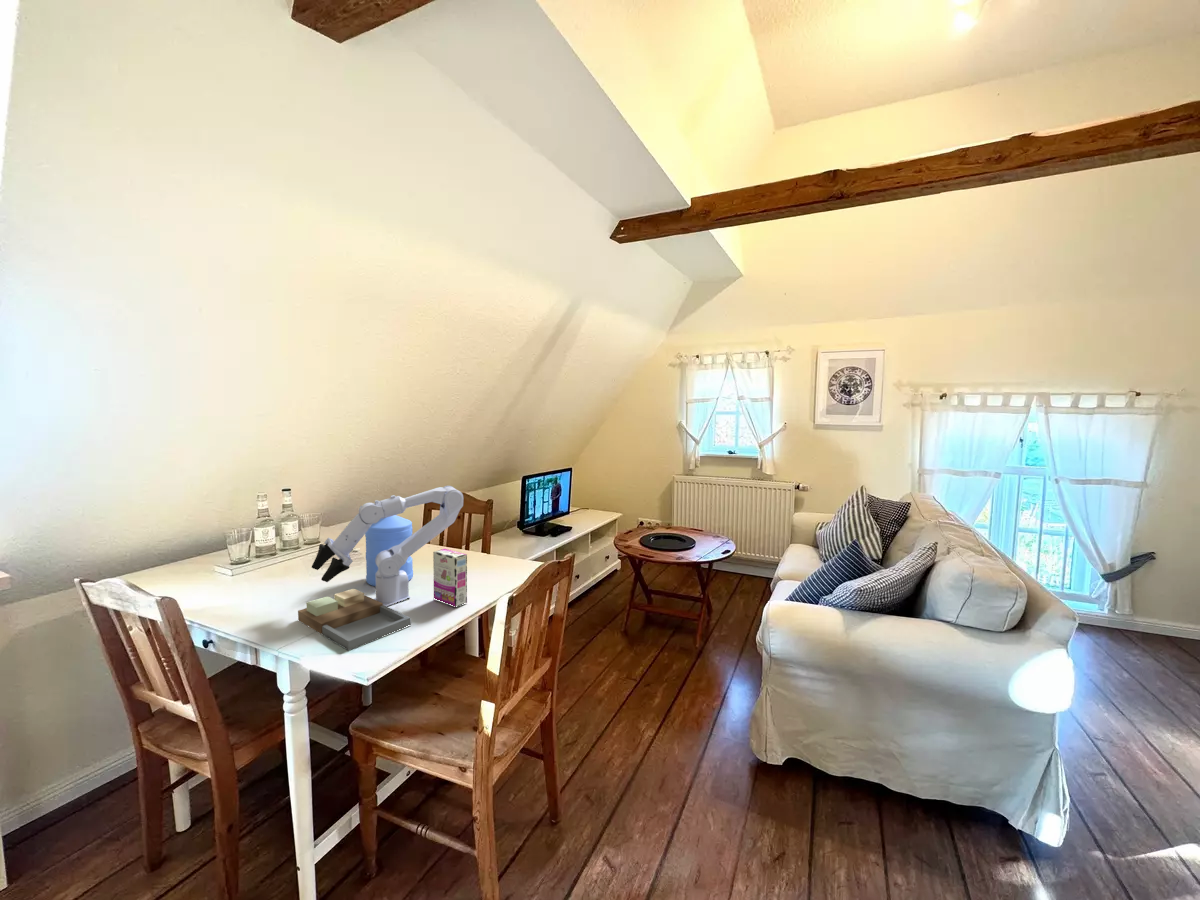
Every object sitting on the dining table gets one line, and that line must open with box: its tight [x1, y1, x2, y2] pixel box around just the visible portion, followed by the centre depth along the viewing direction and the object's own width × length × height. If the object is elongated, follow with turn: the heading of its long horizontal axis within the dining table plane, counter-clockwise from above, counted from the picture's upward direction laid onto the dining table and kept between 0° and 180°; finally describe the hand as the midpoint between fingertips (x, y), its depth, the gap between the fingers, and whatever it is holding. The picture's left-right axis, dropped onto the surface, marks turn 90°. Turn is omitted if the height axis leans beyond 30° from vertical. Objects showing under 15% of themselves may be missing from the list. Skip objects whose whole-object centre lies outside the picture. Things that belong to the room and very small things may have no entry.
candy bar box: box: [432, 548, 468, 608], centre depth 159 cm, size 11×5×16 cm, turn 56°
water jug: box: [364, 515, 414, 587], centre depth 176 cm, size 16×16×28 cm
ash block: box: [333, 588, 365, 607], centre depth 150 cm, size 6×6×2 cm
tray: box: [321, 605, 412, 651], centre depth 138 cm, size 18×14×2 cm
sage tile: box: [306, 596, 338, 616], centre depth 144 cm, size 6×6×2 cm
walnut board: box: [297, 594, 383, 635], centre depth 147 cm, size 18×14×3 cm
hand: (319, 574), depth 148 cm, fingers open, 7 cm apart
